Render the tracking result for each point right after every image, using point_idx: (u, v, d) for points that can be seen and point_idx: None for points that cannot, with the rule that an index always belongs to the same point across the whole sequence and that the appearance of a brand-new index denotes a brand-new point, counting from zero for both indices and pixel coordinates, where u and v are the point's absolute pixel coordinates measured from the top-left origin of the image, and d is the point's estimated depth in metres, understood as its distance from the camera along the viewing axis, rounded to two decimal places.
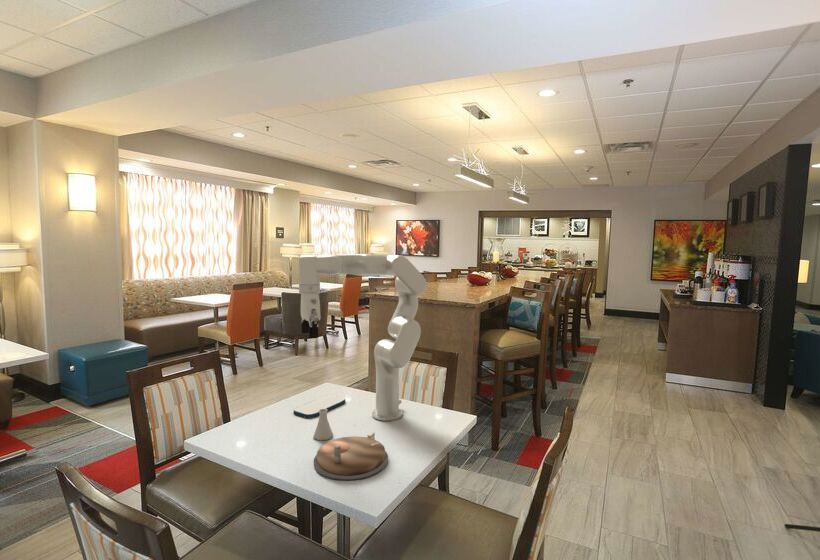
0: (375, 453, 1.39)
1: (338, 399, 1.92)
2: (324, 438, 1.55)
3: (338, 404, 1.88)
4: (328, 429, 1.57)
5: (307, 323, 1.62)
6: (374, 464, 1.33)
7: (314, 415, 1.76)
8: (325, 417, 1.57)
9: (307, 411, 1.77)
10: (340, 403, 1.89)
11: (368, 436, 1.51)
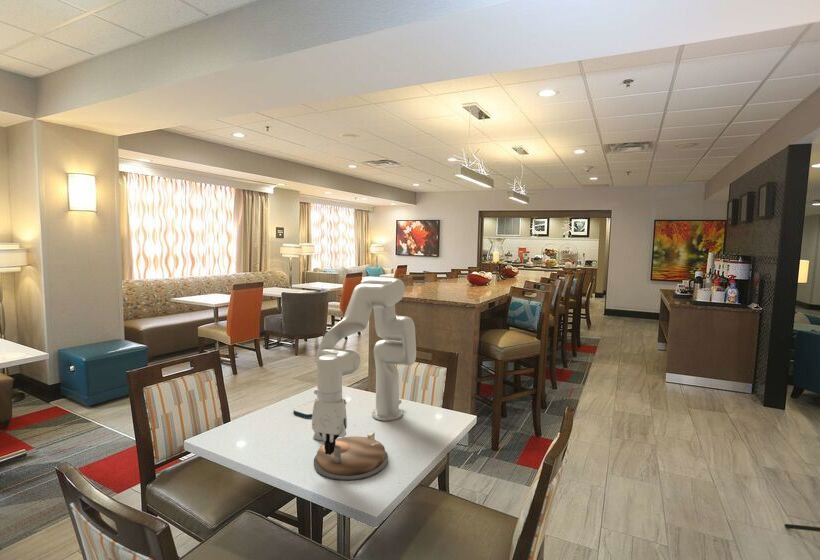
0: (375, 453, 1.39)
1: None
2: None
3: None
4: None
5: None
6: (374, 464, 1.33)
7: None
8: None
9: (307, 411, 1.77)
10: None
11: (368, 436, 1.51)
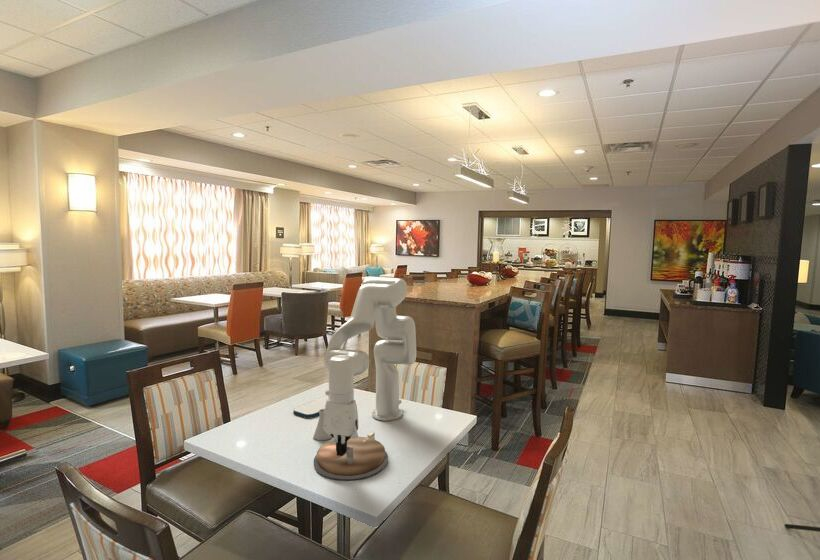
0: (375, 447, 1.43)
1: None
2: (324, 438, 1.55)
3: None
4: None
5: None
6: (383, 456, 1.38)
7: (314, 415, 1.76)
8: None
9: (307, 411, 1.77)
10: None
11: (368, 436, 1.51)
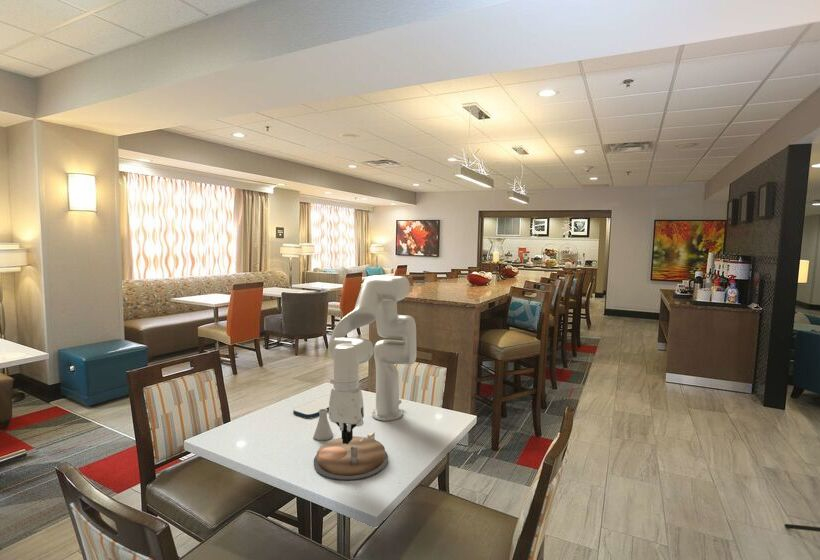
0: (374, 445, 1.44)
1: None
2: (324, 438, 1.55)
3: None
4: (328, 429, 1.57)
5: (346, 431, 1.32)
6: (384, 454, 1.40)
7: (314, 415, 1.76)
8: (325, 417, 1.57)
9: (307, 411, 1.77)
10: None
11: (368, 436, 1.51)
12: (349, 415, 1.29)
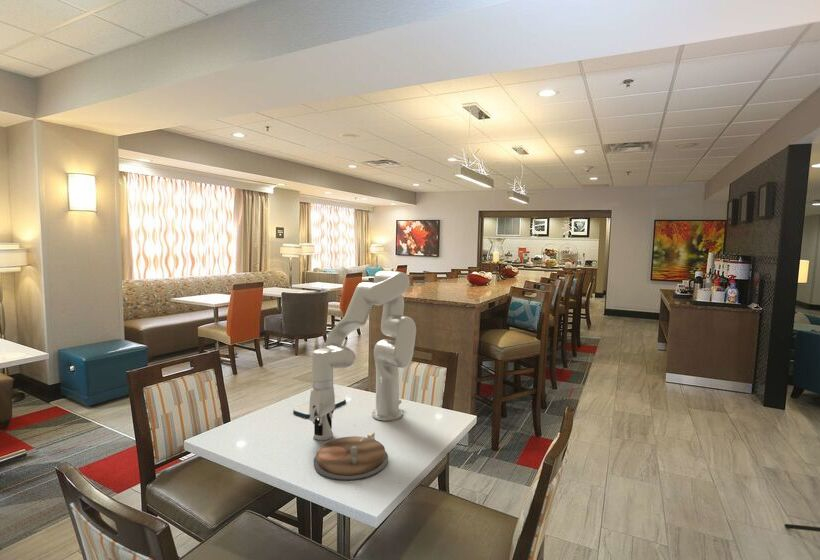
0: (374, 445, 1.44)
1: (339, 400, 1.91)
2: (324, 438, 1.55)
3: (338, 404, 1.88)
4: (328, 429, 1.57)
5: None
6: (384, 454, 1.40)
7: None
8: (325, 417, 1.57)
9: (307, 411, 1.77)
10: (340, 403, 1.89)
11: (368, 436, 1.51)
12: None
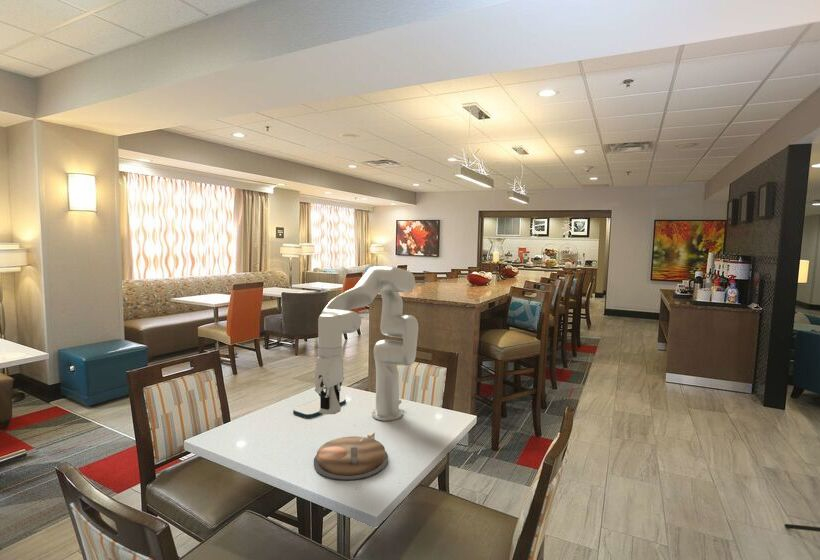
0: (374, 445, 1.44)
1: None
2: (331, 412, 1.38)
3: None
4: (335, 402, 1.40)
5: None
6: (384, 454, 1.40)
7: (313, 415, 1.76)
8: (332, 389, 1.40)
9: (306, 411, 1.77)
10: (340, 403, 1.89)
11: (368, 436, 1.51)
12: None
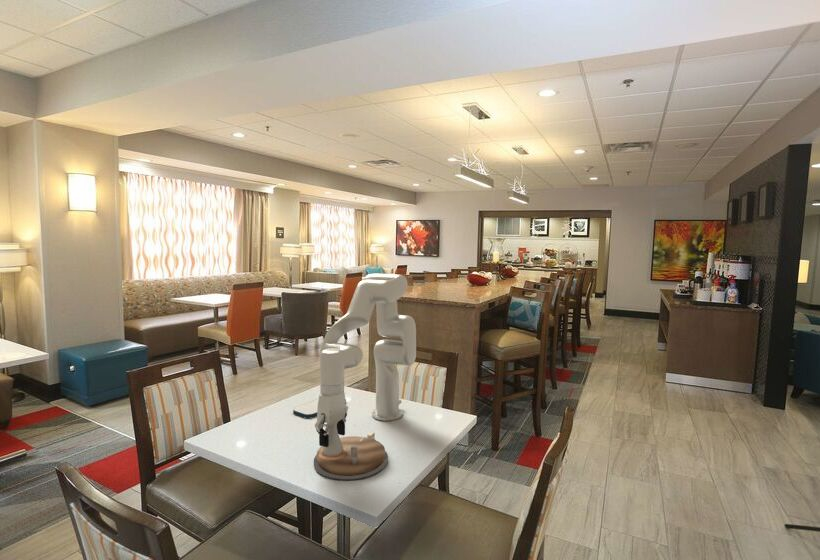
0: (374, 445, 1.44)
1: None
2: (334, 454, 1.36)
3: None
4: (338, 443, 1.38)
5: None
6: (384, 454, 1.40)
7: (313, 415, 1.76)
8: (335, 430, 1.38)
9: (306, 411, 1.78)
10: None
11: (368, 436, 1.51)
12: None
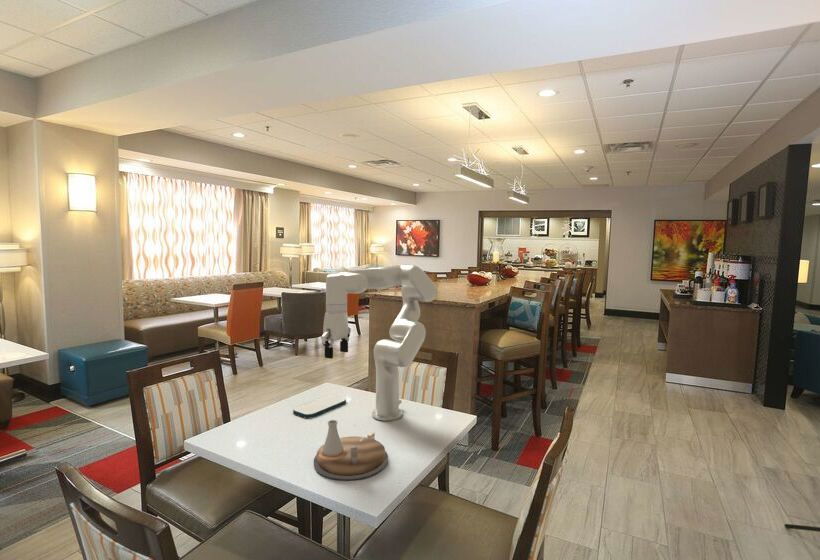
0: (374, 445, 1.44)
1: (339, 400, 1.91)
2: (334, 454, 1.36)
3: (338, 404, 1.87)
4: (338, 443, 1.38)
5: None
6: (384, 454, 1.40)
7: (313, 415, 1.76)
8: (335, 430, 1.38)
9: (306, 411, 1.78)
10: (340, 403, 1.88)
11: (368, 436, 1.51)
12: None
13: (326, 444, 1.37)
